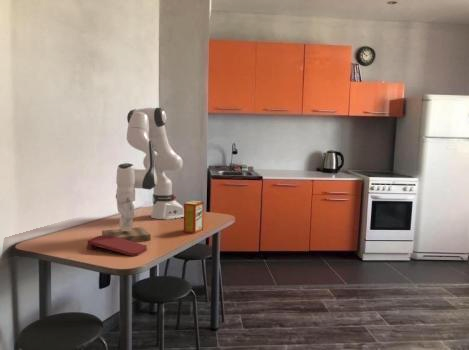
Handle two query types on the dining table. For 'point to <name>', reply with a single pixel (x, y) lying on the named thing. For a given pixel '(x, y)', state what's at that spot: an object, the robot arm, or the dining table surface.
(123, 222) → the cream block
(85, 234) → the dining table surface
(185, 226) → the baking soda box
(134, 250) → the carton
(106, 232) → the plinth
